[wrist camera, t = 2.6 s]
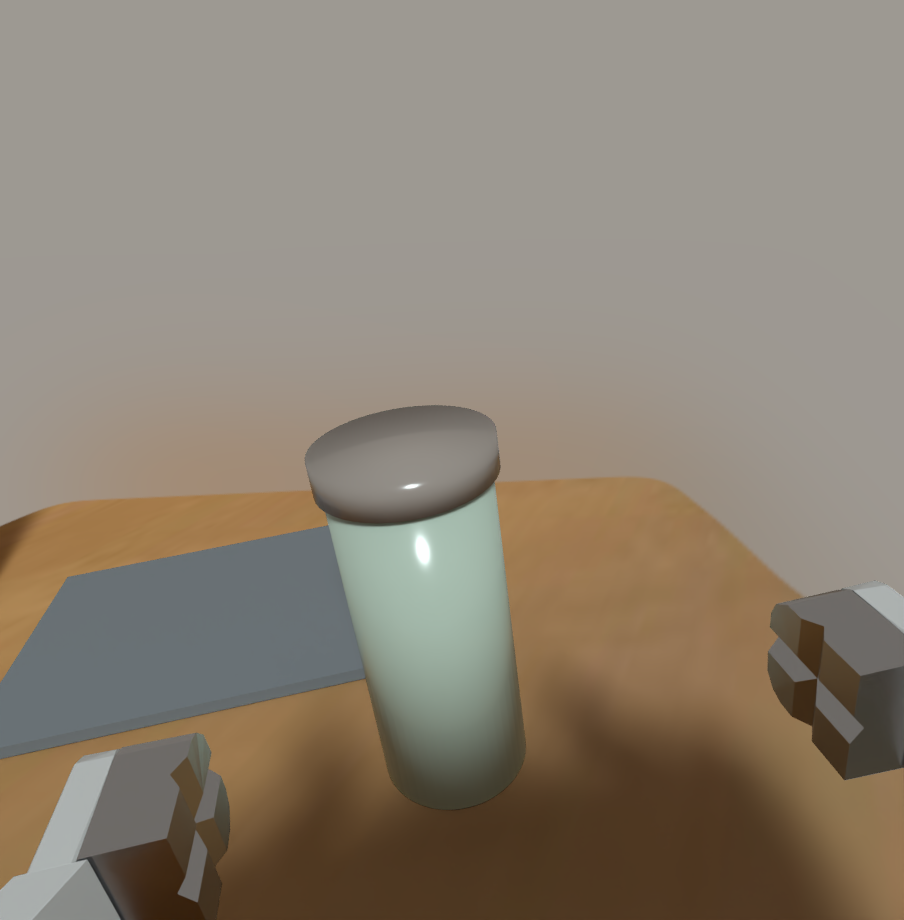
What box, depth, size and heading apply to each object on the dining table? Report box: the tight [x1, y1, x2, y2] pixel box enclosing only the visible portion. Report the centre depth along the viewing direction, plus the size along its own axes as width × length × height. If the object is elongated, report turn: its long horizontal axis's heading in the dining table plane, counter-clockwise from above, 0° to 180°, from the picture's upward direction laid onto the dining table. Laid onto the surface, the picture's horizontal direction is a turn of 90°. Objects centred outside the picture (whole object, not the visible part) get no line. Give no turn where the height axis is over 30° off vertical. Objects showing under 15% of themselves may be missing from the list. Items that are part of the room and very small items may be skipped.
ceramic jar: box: [305, 405, 526, 810], centre depth 24 cm, size 6×6×13 cm
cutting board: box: [0, 525, 365, 759], centre depth 36 cm, size 20×14×1 cm
